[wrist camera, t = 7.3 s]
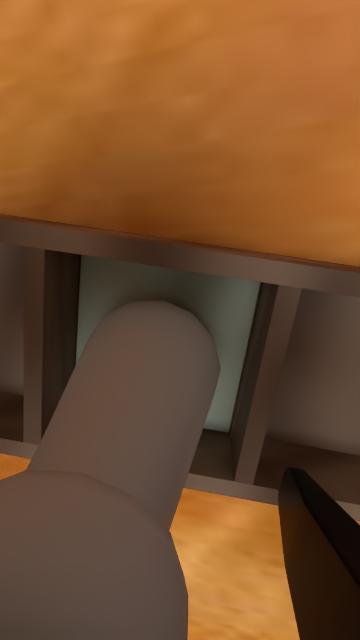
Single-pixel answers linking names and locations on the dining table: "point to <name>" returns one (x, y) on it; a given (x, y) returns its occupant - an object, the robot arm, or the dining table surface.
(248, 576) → the dining table surface
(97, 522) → the salt shaker
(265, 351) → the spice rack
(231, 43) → the dining table surface
